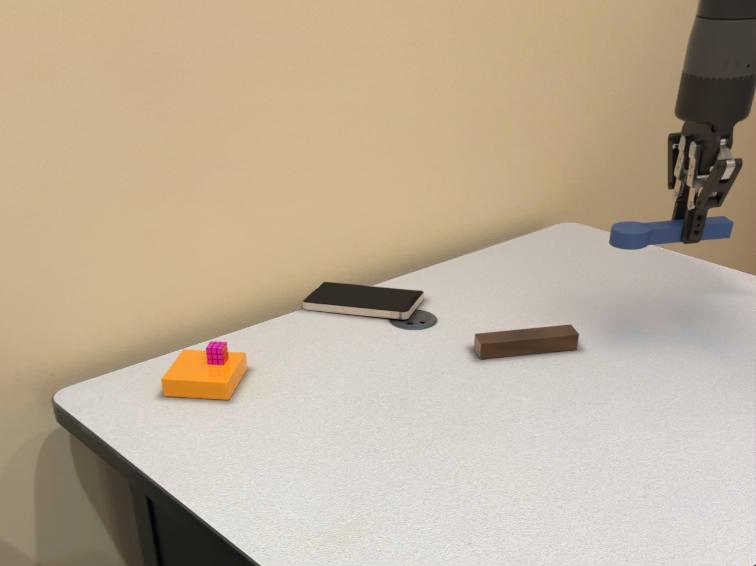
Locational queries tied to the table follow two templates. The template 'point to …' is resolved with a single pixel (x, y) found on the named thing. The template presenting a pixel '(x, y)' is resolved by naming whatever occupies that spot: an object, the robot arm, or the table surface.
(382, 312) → the smartphone
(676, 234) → the spoon
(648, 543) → the table surface
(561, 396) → the table surface
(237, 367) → the orange square platform
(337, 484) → the table surface
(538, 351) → the walnut bar
